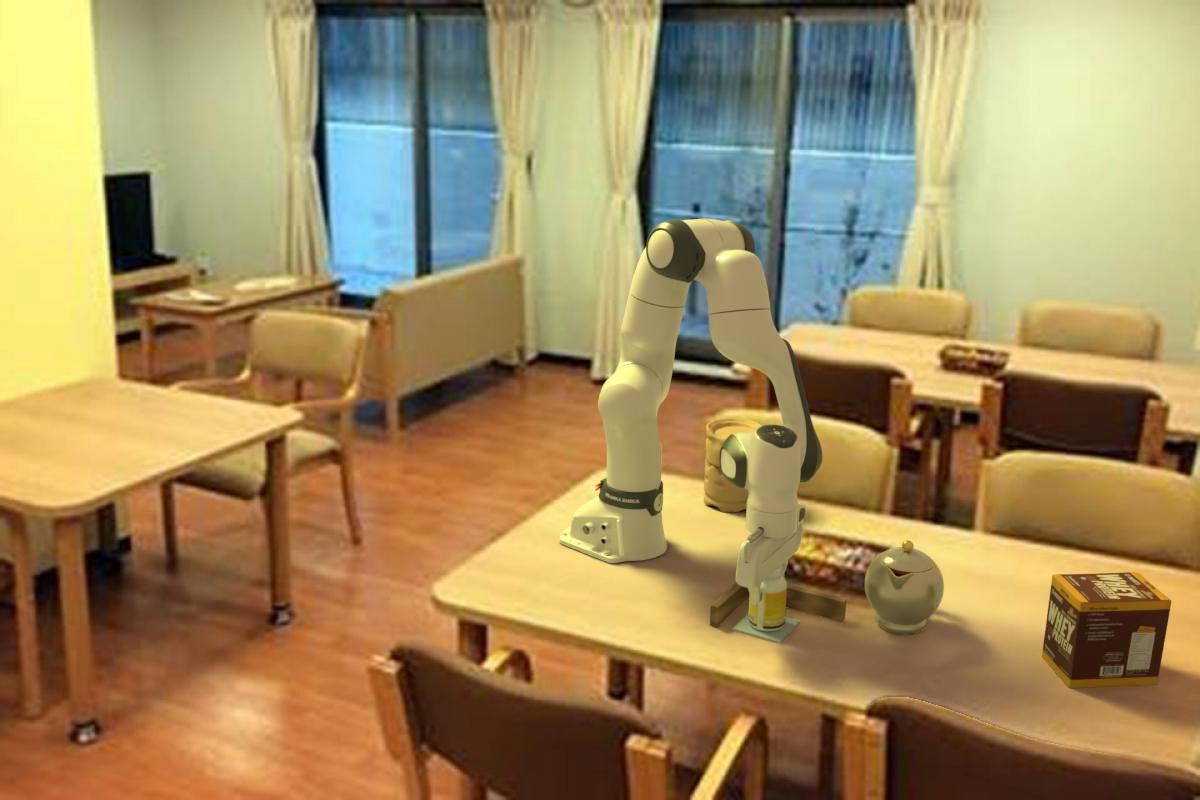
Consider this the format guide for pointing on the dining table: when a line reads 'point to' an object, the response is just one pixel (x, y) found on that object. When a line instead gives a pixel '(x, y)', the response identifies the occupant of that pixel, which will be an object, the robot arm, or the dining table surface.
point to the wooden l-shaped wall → (795, 600)
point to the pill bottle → (770, 603)
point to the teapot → (903, 589)
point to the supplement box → (1105, 629)
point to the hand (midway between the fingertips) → (766, 591)
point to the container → (714, 482)
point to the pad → (767, 635)
